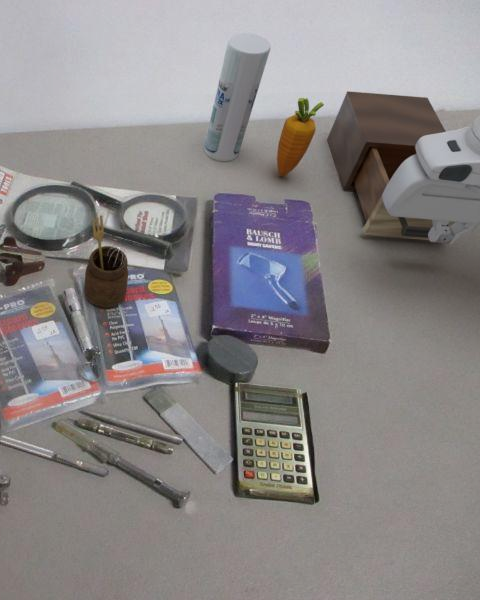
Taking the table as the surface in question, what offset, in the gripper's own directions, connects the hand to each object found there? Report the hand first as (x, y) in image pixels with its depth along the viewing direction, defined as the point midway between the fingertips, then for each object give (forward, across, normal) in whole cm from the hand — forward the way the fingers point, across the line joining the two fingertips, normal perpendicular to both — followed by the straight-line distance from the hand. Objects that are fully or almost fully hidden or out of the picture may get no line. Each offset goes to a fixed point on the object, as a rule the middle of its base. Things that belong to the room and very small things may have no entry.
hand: (439, 239), depth 83 cm
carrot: (+8, +17, -21) cm, 28 cm away
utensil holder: (+8, +46, +9) cm, 47 cm away
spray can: (+8, +27, -27) cm, 39 cm away
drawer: (+7, 0, -12) cm, 13 cm away
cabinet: (+8, 0, -26) cm, 27 cm away
